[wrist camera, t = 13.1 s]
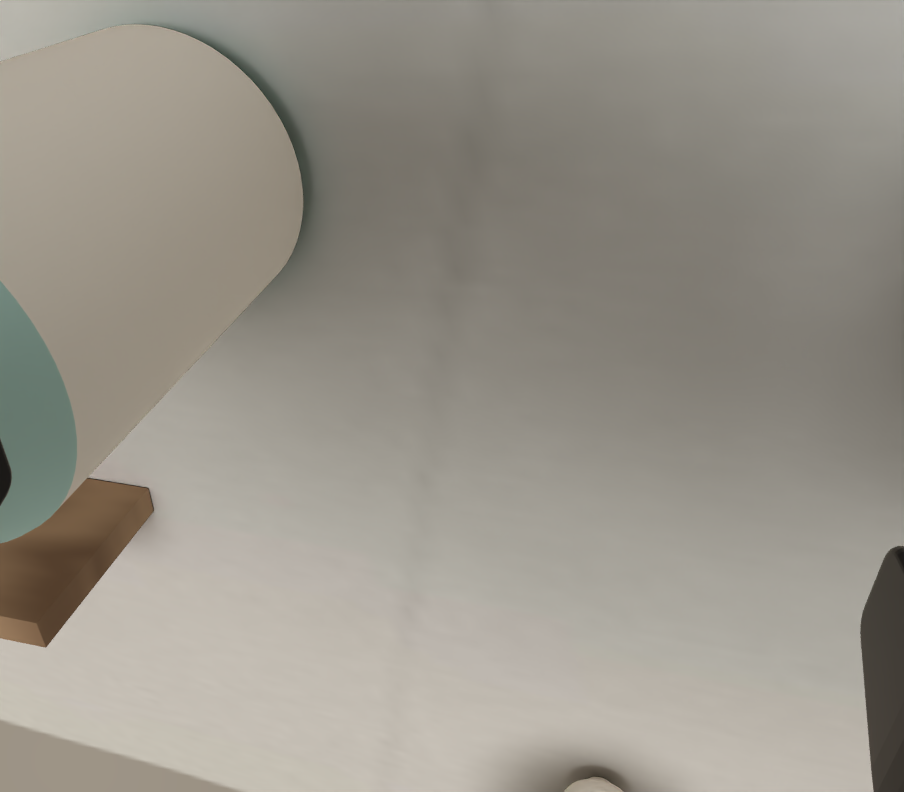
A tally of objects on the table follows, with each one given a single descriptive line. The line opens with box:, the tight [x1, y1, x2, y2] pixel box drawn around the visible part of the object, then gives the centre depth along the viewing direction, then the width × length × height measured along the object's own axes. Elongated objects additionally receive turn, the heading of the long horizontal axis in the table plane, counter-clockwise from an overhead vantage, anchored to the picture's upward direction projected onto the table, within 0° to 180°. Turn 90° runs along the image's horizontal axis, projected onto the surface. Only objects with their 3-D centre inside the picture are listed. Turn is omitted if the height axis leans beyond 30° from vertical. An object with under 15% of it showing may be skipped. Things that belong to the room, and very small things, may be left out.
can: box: [0, 24, 303, 543], centre depth 17 cm, size 7×7×12 cm
